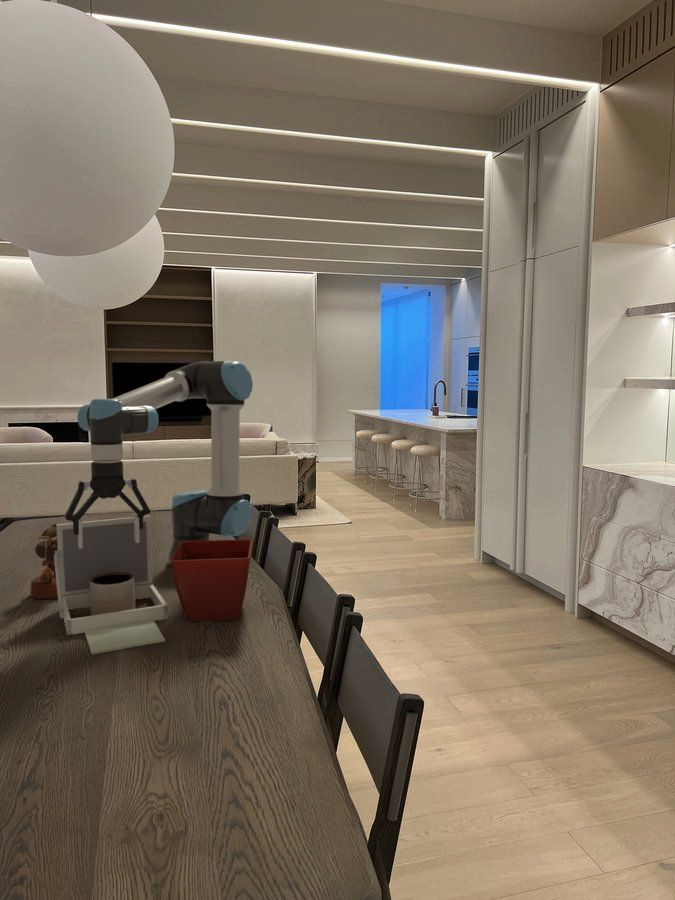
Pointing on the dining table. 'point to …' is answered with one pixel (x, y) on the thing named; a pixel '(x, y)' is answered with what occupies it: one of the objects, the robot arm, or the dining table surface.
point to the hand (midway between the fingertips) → (109, 544)
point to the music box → (47, 581)
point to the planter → (112, 593)
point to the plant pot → (211, 578)
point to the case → (104, 571)
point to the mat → (123, 637)
